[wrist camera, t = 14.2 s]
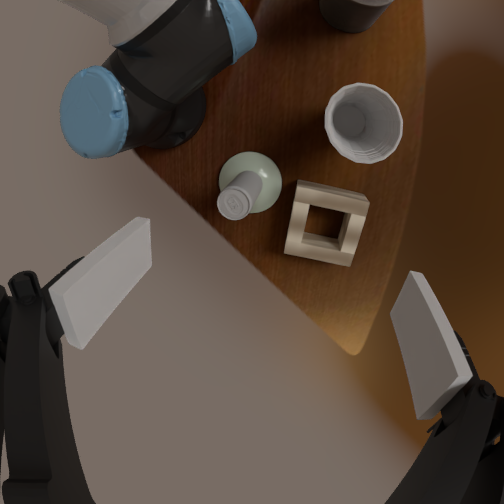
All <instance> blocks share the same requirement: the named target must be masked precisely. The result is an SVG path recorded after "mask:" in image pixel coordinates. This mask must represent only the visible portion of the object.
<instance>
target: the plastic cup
mask: <svg viewBox="0 0 504 504" xmlns="http://www.w3.org/2000/svg"><path fill="white" fill-rule="evenodd" d="M402 128H403V120H402V117H401V114H400V111H399V108H398V105H397V104H396V103H395V102H394V100H393V99H392V98H391V96H390V95H389V94H388V93H387V92H385V91H383V90H382V89H380V88H378V87H377V86H375V85H370V84H364V83H355V84H352V85H348V86H344V87H343V88H341V89H340V90H339V91H338V92H337V93H335V94H334V95H333V96H332V97H331V99H330V102H329V104H328V106H327V108H326V110H325V129H326V132H327V134H328V137H329V140H330V142H331V144H332V145H333V146H334V147H335V148H336V149H337V150H338V152H339V153H340V154H341V155H343V156H345V157H346V158H348V159H350V160H352V161H354V162H358V163H368V164H371V163H374V162H378V161H381V160H384V159H386V158H387V157H388V156H389V155H390V154H391V153H392V152H394V151H395V150H396V148H397V146H398V144H399V142H400V140H401V137H402Z"/></svg>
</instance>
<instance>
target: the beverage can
mask: <svg viewBox="0 0 504 504" xmlns="http://www.w3.org/2000/svg"><path fill="white" fill-rule="evenodd" d="M262 186H263V183H262V179H261V177H260V176H259V175H258V174H256V173H255V172H253V171H248V170H247V171H243V172H241V173H240V174H239V175H237V176H236V177H235V178H234V179H233V180H232V181H231V182H230V183H229V184H228V185H227V186H226V187H225V188H224V189H223V190H222V191H221V193H220V194H219V197H218V200H217V206H218V209H219V211H220V213H221V214H222V215H223V216H224V217H226V218H227V219H230V220H239V219H242V218H244V217H245V216H246V215H248V213H249V212H250V211H251V209H252V207H253V205H254V203H255V201H256V199H257V198H258V196H259V194H260V192H261V190H262Z"/></svg>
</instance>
